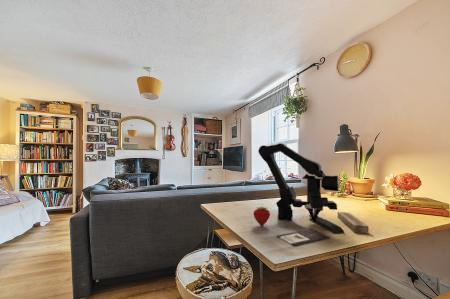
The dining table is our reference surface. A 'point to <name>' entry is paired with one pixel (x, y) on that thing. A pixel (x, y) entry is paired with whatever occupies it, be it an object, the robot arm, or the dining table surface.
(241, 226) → the dining table surface
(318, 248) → the dining table surface
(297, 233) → the chocolate bar
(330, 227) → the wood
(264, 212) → the strawberry
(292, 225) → the dining table surface
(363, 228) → the laid board
